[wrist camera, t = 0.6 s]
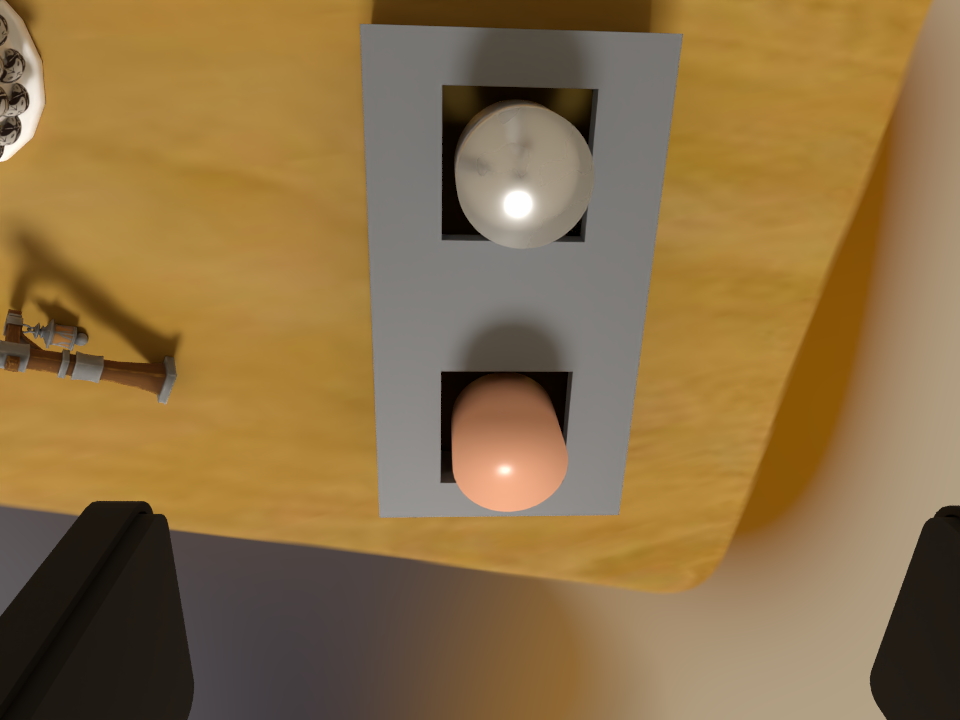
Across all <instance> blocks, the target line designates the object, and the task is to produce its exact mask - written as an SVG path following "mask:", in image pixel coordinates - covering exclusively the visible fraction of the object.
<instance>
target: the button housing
mask: <svg viewBox="0 0 960 720" xmlns="http://www.w3.org/2000/svg"><path fill="white" fill-rule="evenodd" d="M360 35H361V60H362V86H363V111H364V136H365V161H366V187H367V212H368V237H369V263H370V288H371V313H372V338H373V364H374V389H375V414H376V440H377V465H378V490H379V515H380V517H473V516H567V515H619V510H620V503H621V495H622V488H623V480H624V473H625V465H626V458H627V450H628V443H629V435H630V427H631V420H632V412H633V405H634V397H635V390H636V382H637V375H638V367H639V360H640V352H641V345H642V337H643V330H644V322H645V315H646V307H647V300H648V292H649V285H650V277H651V270H652V262H653V255H654V247H655V240H656V232H657V225H658V217H659V210H660V202H661V195H662V187H663V180H664V172H665V165H666V157H667V150H668V142H669V135H670V127H671V120H672V112H673V105H674V97H675V90H676V82H677V75H678V67H679V60H680V52H681V45H682V37H683V34H668V33H636V32H604V31H572V30H540V29H508V28H476V27H444V26H412V25H380V24H360ZM442 85H463V86H501V87H540V88H578V89H593V98H592V109H591V121H590V132H589V144H588V147H589V150H590V152H591V155H592V159H593V164H594V187H593V192H592V196H591V199H590V202H589V204H588V207H587V209H586V211H585V212H584V214H583V216H582V223H581V235H580V236H562V237H560V238H559V239H557V240H556V241H553V242H551V243H549V244H547V245H543V246H540V247H535V248H528V249H518V248H510V247H505V246H502V245H500V244H497V243H495V242H493V241H491V240H489V239H487V238H486V237H484V236H483V235H447V234H442ZM441 371H528V372H568V383H567V394H566V406H565V417H564V428H563V439H564V442H565V445H566V449H567V453H568V467H567V471H566V475H565V477H564V479H563V481H562V483H561V485H560V486H559V488H558V489H557V490H556V491H555V492H554V493H553V494H552V495H551V496H550V497H549V498H547V499H546V500H545V501H543V502H541V503H540V504H538V505H536V506H533V507H531V508H528V509H525V510H520V511H512V512H502V511H495V510H490V509H487V508H484V507H482V506H480V505H478V504H476V503H474V502H473V501H471V500H470V499H469V498H468V497H467V496H466V495H465V494H464V493H463V492H462V491H461V490H460V488H459V486H458V485H457V483H456V480H455V478H454V474H453V465H452V451H441Z"/></svg>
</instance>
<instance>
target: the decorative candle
mask: <svg viewBox="0 0 960 720" xmlns="http://www.w3.org/2000/svg"><path fill="white" fill-rule="evenodd" d="M45 104H46V100H45V88H44V76H43V64H42V60H41V58H40V56H39V54H38V51H37V49H36V47H35V45H34V43H33V41H32V38H31V36H30V34H29V32H28V30H27V27H26V25H25V23H24V21H23V19H22V18H21V17H20V16H19V15H18V14H17V13H16V12H15V10H14V9H13V8H12V7H11V6H10V5H9V4H8V3H7V2H6V0H0V162H1V161H5V160H8V159H10V158H11V157H12V156H13V155H14V154H15V153H16V152H17V151H18V150H20V149H21V148H22V147H23V146H24V145H25V144H26V143H27V142H28V141H30V140H31V139H32V138H33V137H34V134H35V132H36V129H37V126H38V123H39V120H40V118H41V115H42V112H43V109H44V106H45Z"/></svg>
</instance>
